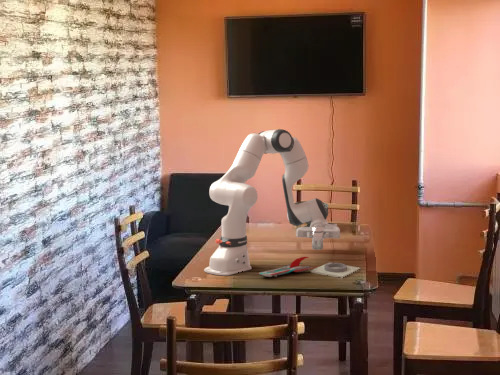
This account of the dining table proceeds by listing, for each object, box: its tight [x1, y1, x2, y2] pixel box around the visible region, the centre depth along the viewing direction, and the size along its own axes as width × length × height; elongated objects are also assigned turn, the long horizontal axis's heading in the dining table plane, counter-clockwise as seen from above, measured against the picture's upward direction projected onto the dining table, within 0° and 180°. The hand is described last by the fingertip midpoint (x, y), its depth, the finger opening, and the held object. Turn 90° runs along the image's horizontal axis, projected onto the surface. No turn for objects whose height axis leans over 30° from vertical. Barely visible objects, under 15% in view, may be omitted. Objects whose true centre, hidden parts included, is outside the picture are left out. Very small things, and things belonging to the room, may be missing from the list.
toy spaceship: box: [257, 256, 318, 278], centre depth 317 cm, size 27×11×5 cm, turn 128°
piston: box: [311, 226, 324, 251], centre depth 330 cm, size 5×5×10 cm
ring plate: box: [310, 262, 361, 279], centre depth 321 cm, size 16×16×2 cm
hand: (317, 236), depth 329 cm, fingers closed on piston, 5 cm apart
